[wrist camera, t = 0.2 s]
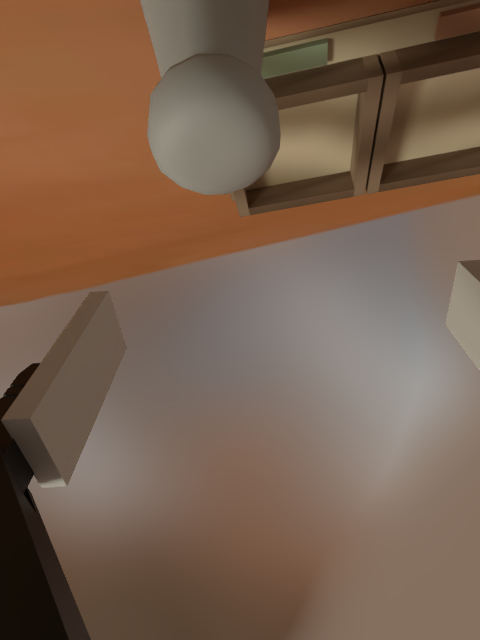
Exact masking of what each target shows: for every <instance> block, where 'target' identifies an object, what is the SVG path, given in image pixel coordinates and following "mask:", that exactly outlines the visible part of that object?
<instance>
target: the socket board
mask: <svg viewBox="0 0 480 640" xmlns="http://www.w3.org/2000/svg"><path fill="white" fill-rule="evenodd" d="M261 76H262V77H263V79H264V80H265V82H266V83H267V85H268V86H269V88H270V89H271V91H272V92H273V93H274V95H275V99H276V103H277V106H278V112H279V122H280V131H281V137H280V149H279V151H278V153H277V155H276V157H275V159H274V161H273V163H272V165H271V167H270V169H269V170H268V171H267V172H266V173H264V174H263V175H262V176H261V177H260V178H259V179H257V180H256V181H255V182H254V183H253V184H251V185H250V186H248V187H246V188H243V189H240V190H237V191H234V192H231V193H230V195H231V198H232V201H234V200H235V201H236V204H237V208H238V212H239V215H240V217H242V216H248V215H253V214H259V213H265V212H270V211H276V210H281V209H287V208H292V207H298V206H303V205H309V204H315V203H320V202H326V201H331V200H337V199H342V198H348V197H353V196H359V195H364V194H365V188H366V192H367V194H370V193H376V192H381V191H387V190H392V189H398V188H403V187H409V186H415V185H420V184H426V183H431V182H437V181H442V180H448V179H453V178H459V177H464V176H470V175H476V174H480V0H440V1H435V2H431V3H427V4H423V5H418V6H414V7H410V8H405V9H401V10H397V11H392V12H388V13H384V14H380V15H375V16H371V17H367V18H362V19H358V20H354V21H349V22H345V23H341V24H337V25H332V26H328V27H324V28H319V29H315V30H311V31H306V32H302V33H298V34H294V35H289V36H285V37H281V38H276V39H272V40H268V41H265V43H264V52H263V61H262V70H261Z"/></svg>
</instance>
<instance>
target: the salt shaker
mask: <svg viewBox="0 0 480 640" xmlns="http://www.w3.org/2000/svg"><path fill="white" fill-rule="evenodd" d="M140 2H141V6H142V9H143V13H144V16H145V20H146V23H147V27H148V30H149V34H150V37H151V41H152V44H153V48H154V51H155V55H156V59H157V63H158V67H159V71H160V75H161V80H160V82H159V83H158V84H157V86H156V87H155V88H154V90H153V92H152V93H151V96H150V108H149V120H148V133H147V136H148V140H149V144H150V149H151V151H152V154H153V156H154V158H155V160H156V162H157V165H158V167H159V169H160V171H161V172H162V173H164V174H165V175H166V176H167V177H169V178H170V179H171V180H173V181H174V182H175V183H176V184H178V185H179V186H181V187H183V188H185V189H189V190H192V191H195V192H198V193H201V194H204V195H212V194H228V193H231V192H234V191H237V190H240V189H243V188H246V187H248V186H250V185H251V184H253V183H254V182H255V181H256V180H257V179H259V178H260V177H261V176H262V175H263V174H264V173H266V172H267V171H268V170H269V169H270V167H271V165H272V163H273V161H274V159H275V157H276V155H277V153H278V151H279V149H280V137H281V131H280V122H279V112H278V106H277V103H276V99H275V95H274V93H273V92H272V91H271V89H270V88H269V86H268V85H267V83H266V82H265V80H264V79H263V77H262V76H261V70H262V61H263V52H264V43H265V34H266V25H267V17H268V8H269V0H140Z"/></svg>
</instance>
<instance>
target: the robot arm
mask: <svg viewBox="0 0 480 640" xmlns="http://www.w3.org/2000/svg"><path fill="white" fill-rule="evenodd" d="M446 326H447V327H448V328H449V330H450V331H451V333H452V334H453V335H454V337H455V338H456V339H457V341H458V342H459V343H460V345H461V346H462V347H463V349H464V350H465V352H466V353H467V354H468V356H469V357H470V358H471V360H472V361H473V362H474V364H475V365H476V366H477V368H478V369H479V371H480V260H471V261H459V262H458V266H457V271H456V275H455V280H454V285H453V290H452V295H451V300H450V305H449V310H448V315H447V320H446ZM126 348H127V347H126V344H125V341H124V337H123V334H122V331H121V328H120V325H119V322H118V318H117V315H116V312H115V309H114V306H113V303H112V300H111V296H110V293H109V291H101V292H90V293H89V294H88V296H87V297H86V298H85V300H84V301H83V303H82V304H81V306H80V307H79V309H78V310H77V311H76V313H75V314H74V316H73V317H72V319H71V320H70V321H69V323H68V324H67V326H66V327H65V329H64V330H63V332H62V333H61V334H60V336H59V337H58V339H57V340H56V342H55V343H54V344H53V346H52V347H51V349H50V350H49V352H48V353H47V355H46V356H45V357H44V359H43V361H42V362H41V363H34V364H31V365H30V366H29V367H27V368H26V369H25V370H24V371H22V372H21V373H20V374H19V375H18V376H17V377H16V379H15V380H14V381H13V383H12V384H11V385H10V388H8V389H7V391H6V392H5V393H4V395H3V398H1V399H0V640H91V639H90V637H89V634H88V632H87V629H86V627H85V624H84V622H83V619H82V617H81V614H80V612H79V609H78V607H77V605H76V602H75V600H74V597H73V595H72V592H71V590H70V587H69V585H68V583H67V580H66V577H65V575H64V573H63V570H62V568H61V565H60V563H59V560H58V558H57V555H56V553H55V550H54V548H53V545H52V543H51V541H50V538H49V536H48V533H47V531H46V528H45V526H44V523H43V521H42V518H41V516H40V513H39V511H38V509H37V506H36V504H35V501H34V499H33V496H32V494H31V492H30V491H29V489H28V485H29V483H30V481H31V479H32V477H33V475H34V476H35V477H36V479H37V481H38V483H39V484H40V486H41V487H61V486H67V485H68V483H69V480H70V478H71V476H72V474H73V471H74V469H75V467H76V464H77V462H78V460H79V457H80V455H81V453H82V450H83V448H84V446H85V443H86V441H87V439H88V436H89V434H90V432H91V429H92V427H93V425H94V423H95V420H96V418H97V416H98V413H99V411H100V408H101V406H102V404H103V401H104V399H105V397H106V395H107V392H108V390H109V388H110V385H111V383H112V381H113V378H114V376H115V374H116V371H117V369H118V367H119V364H120V362H121V360H122V358H123V355H124V353H125V350H126Z"/></svg>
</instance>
